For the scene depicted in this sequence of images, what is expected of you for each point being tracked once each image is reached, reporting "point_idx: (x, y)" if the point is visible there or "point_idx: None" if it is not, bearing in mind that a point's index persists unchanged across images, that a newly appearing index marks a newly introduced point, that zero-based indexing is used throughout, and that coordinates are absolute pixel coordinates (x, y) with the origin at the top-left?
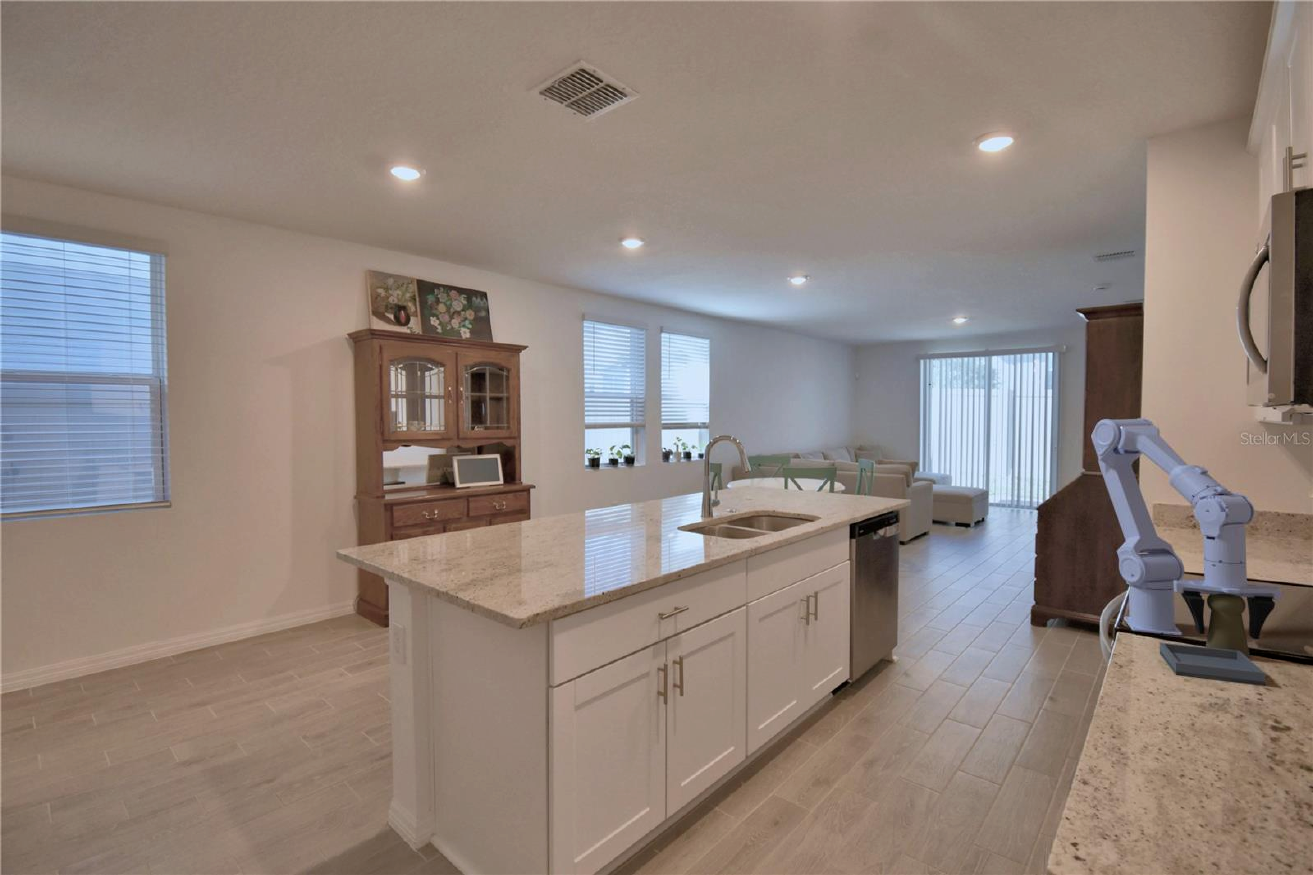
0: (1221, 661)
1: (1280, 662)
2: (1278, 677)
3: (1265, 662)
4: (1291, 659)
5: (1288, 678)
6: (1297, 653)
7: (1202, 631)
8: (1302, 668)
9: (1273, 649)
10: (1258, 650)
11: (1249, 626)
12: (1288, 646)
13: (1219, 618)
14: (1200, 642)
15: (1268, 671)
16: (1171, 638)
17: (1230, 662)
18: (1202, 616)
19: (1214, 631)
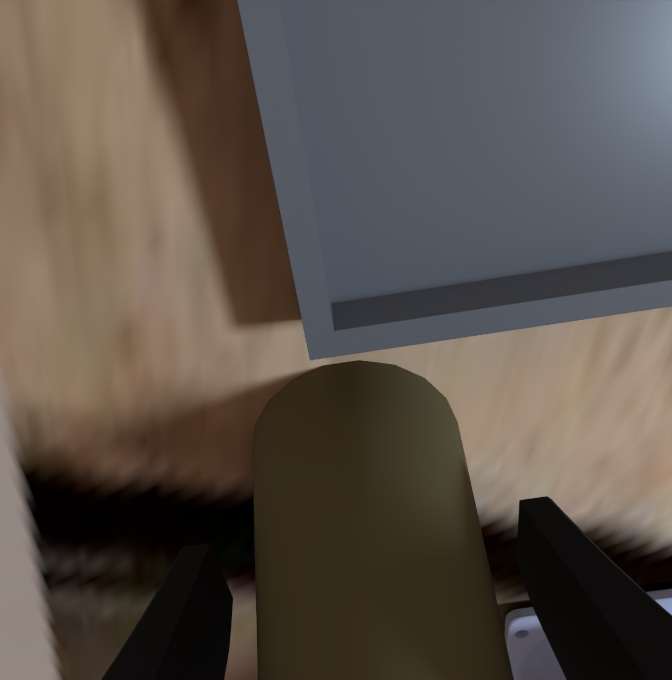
0: (440, 187)
1: (115, 437)
2: (96, 67)
3: (182, 397)
4: (75, 511)
5: (35, 83)
6: (65, 603)
7: (544, 511)
8: (6, 385)
9: None
10: None
11: (220, 677)
12: (107, 666)
13: (470, 660)
14: None
15: (162, 202)
16: None
17: (383, 200)
18: (636, 646)
19: (466, 528)
